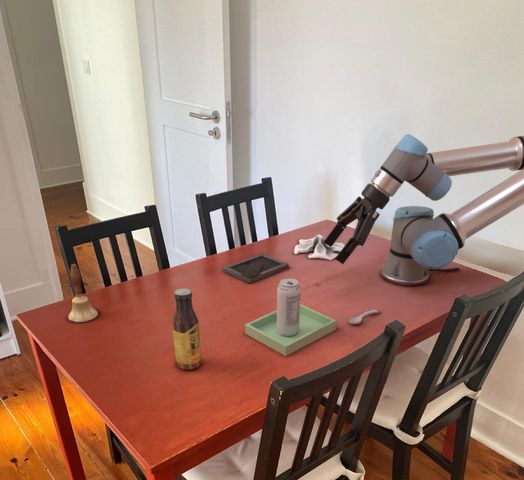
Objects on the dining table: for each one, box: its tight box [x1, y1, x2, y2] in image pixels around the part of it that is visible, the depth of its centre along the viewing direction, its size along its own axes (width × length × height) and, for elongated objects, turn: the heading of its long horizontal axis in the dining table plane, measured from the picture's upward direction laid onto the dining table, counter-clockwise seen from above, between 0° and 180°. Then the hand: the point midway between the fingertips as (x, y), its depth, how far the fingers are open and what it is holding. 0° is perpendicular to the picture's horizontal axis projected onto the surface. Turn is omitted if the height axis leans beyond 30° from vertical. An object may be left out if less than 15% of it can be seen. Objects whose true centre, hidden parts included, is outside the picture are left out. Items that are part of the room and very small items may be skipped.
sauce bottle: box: [172, 287, 202, 371], centre depth 127 cm, size 6×6×20 cm
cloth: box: [293, 234, 346, 261], centre depth 195 cm, size 22×19×6 cm
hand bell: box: [67, 263, 99, 323], centre depth 150 cm, size 8×8×16 cm
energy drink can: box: [276, 277, 301, 337], centre depth 140 cm, size 6×6×15 cm
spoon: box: [348, 308, 379, 326], centre depth 151 cm, size 3×12×2 cm, turn 134°
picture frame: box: [222, 252, 289, 284], centre depth 181 cm, size 13×2×18 cm
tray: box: [244, 303, 337, 357], centre depth 145 cm, size 20×16×3 cm
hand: (332, 252), depth 153 cm, fingers open, 13 cm apart
